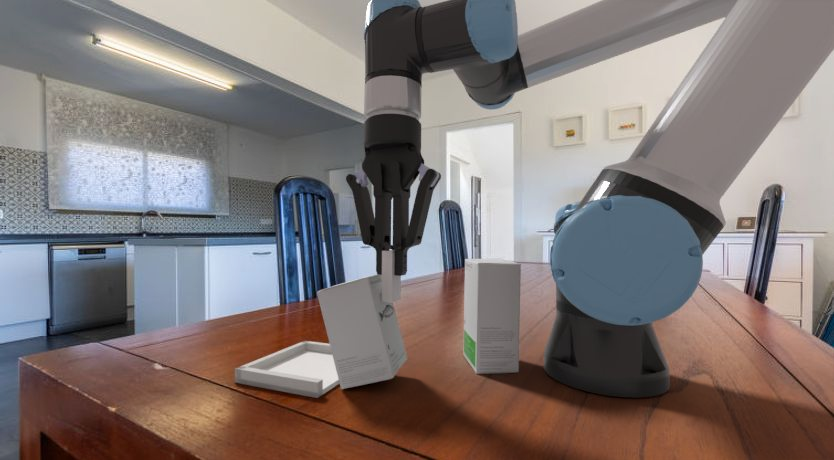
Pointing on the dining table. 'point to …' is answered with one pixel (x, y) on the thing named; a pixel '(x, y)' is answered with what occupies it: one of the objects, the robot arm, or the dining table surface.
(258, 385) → the grey tray
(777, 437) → the dining table surface
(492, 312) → the skincare box
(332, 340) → the supplement box
